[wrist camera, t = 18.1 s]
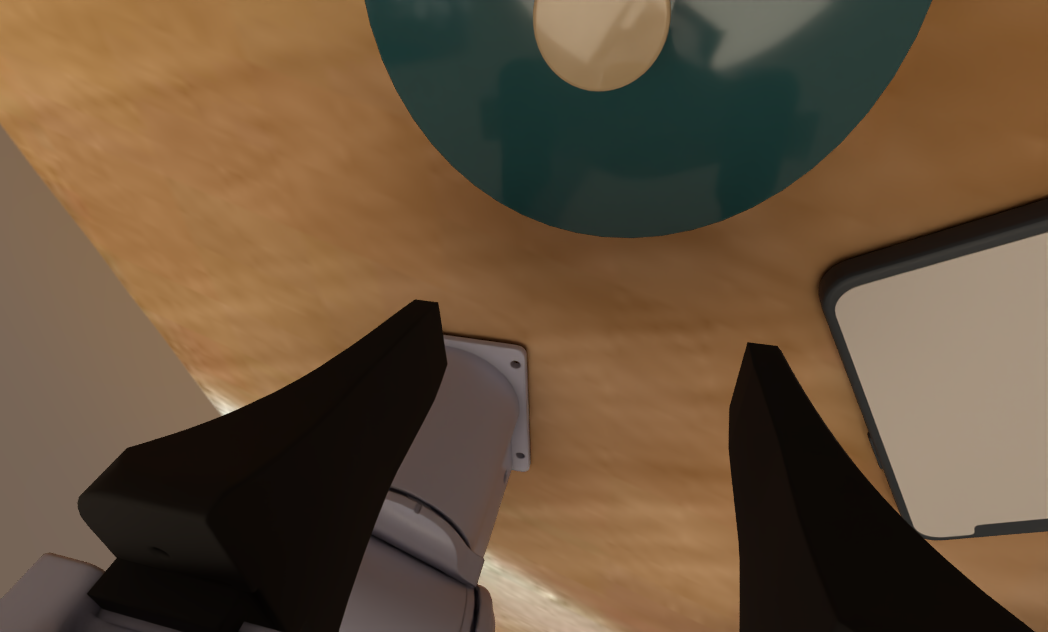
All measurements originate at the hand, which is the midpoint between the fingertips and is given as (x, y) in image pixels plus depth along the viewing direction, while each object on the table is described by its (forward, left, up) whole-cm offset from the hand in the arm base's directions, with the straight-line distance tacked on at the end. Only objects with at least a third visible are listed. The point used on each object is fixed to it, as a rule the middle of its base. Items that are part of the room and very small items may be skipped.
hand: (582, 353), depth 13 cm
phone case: (-8, -15, -11) cm, 20 cm away
